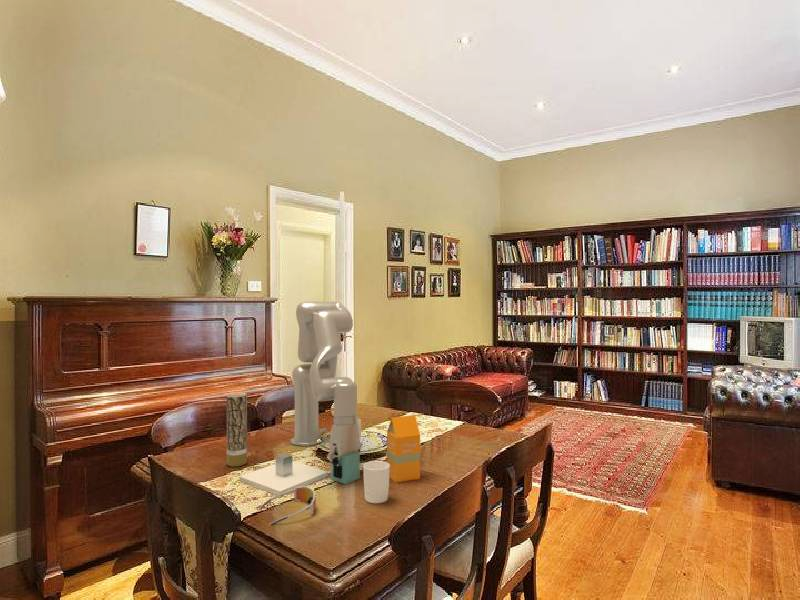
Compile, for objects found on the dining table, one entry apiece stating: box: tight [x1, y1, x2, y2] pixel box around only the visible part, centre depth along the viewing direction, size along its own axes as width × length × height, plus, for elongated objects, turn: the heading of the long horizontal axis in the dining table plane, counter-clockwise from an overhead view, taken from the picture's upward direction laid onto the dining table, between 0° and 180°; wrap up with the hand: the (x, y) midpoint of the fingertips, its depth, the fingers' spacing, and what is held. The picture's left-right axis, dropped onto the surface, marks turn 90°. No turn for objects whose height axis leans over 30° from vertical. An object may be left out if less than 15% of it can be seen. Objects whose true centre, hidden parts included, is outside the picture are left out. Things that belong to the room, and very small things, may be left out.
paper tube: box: [226, 391, 248, 468], centre depth 174 cm, size 7×7×25 cm
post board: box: [238, 460, 329, 496], centre depth 160 cm, size 20×20×2 cm
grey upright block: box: [275, 452, 293, 477], centre depth 160 cm, size 4×4×6 cm
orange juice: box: [386, 414, 421, 483], centre depth 163 cm, size 8×9×20 cm
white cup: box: [362, 460, 390, 504], centre depth 145 cm, size 8×8×10 cm
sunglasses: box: [257, 485, 317, 526], centre depth 137 cm, size 14×15×5 cm
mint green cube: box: [330, 451, 361, 485], centre depth 160 cm, size 7×7×9 cm
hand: (345, 473), depth 160 cm, fingers closed on mint green cube, 6 cm apart
